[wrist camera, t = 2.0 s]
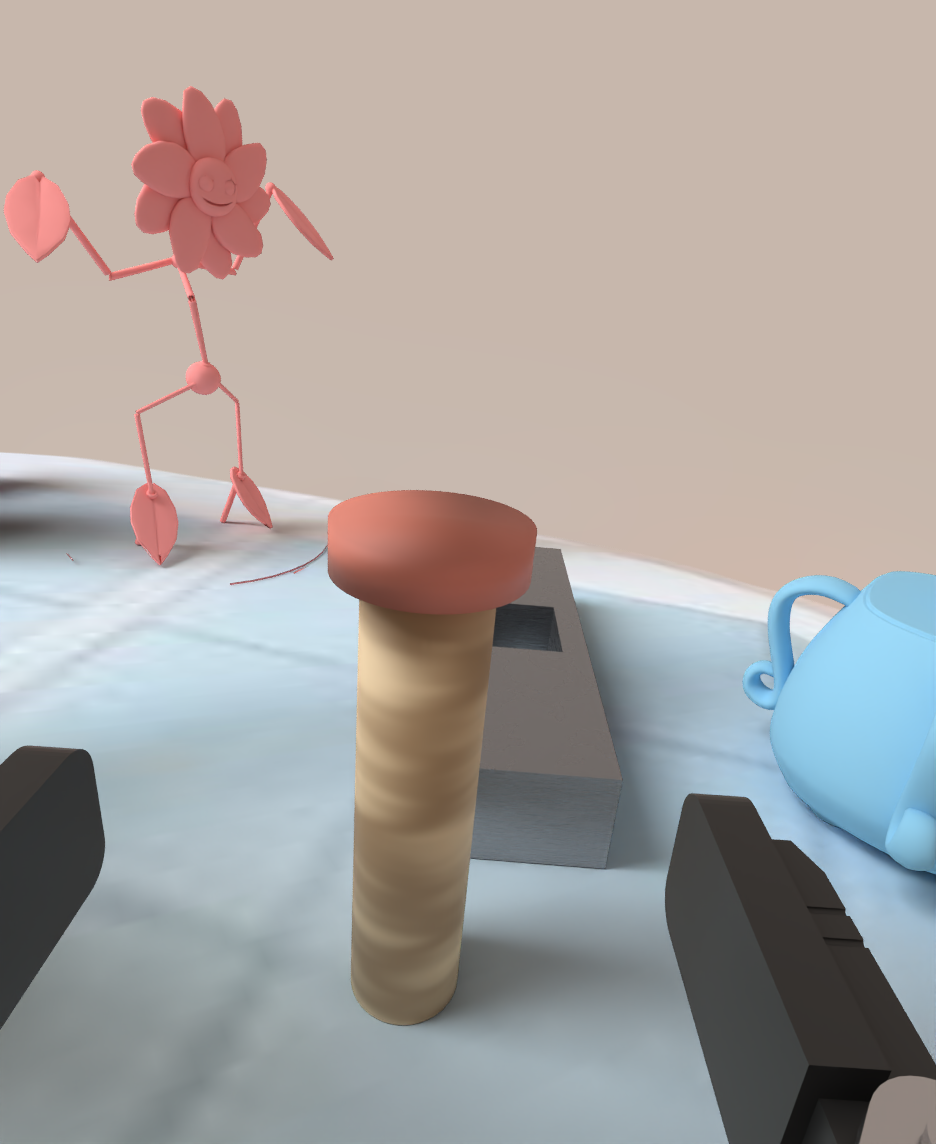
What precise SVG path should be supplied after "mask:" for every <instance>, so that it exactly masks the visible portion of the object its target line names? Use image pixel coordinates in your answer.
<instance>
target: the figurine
mask: <svg viewBox="0 0 936 1144" xmlns="http://www.w3.org/2000/svg"><path fill="white" fill-rule="evenodd" d="M141 113H142V117H143V121H144V125H145V127H146V129H147V131H148V134H149V136H150V139H151V140H152V142H153V143H151V144H148V145H145V146H144V147H143V148H142V149H141V150H140V151H139V152H138V153H137V154H136V155H135V157H134V159H133V161H132V164H131V165H132V168H133V172H134V175H135V176H136V177H137V178H138V179H140V180H141V181H142V182H143V183H144V186H143V188H142V190H141V192H140V194H139V196H138V198H137V203H136V208H135V220H136V225H137V226H138V228H140V229H141V231H143V233H149V234H156V233H161V232H165V231H167V230H169V235H170V240H171V245H172V250H173V254H174V255H173V256H172V257H171V258H168V259H164V260H159V261H155V262H151V263H147V264H143V265H139V266H135V267H131V268H127V269H123V270H119V271H115V272H112V273H111V271H110V270H109V268H108V267H107V265H106V264H105V263H104V261H103V260H102V258H101V257H100V256H99V254H98V253H97V252H96V250H95V249H94V248H93V246H92V245H91V243H90V242H89V241H88V239H87V238H86V236H85V235H84V234H83V232H82V231H81V230H80V228H79V227H78V226H77V224H76V223H75V221H74V220H73V219H72V217H71V216H70V211H69V204H68V202H67V201H66V199H65V197H64V195H63V193H62V192H61V190H60V188H59V186H58V185H56V184H55V183H53V182H51V181H50V180H48V179H47V178H45V176H44V174H43V173H42V172H40V171H37V170H36V171H33V172H32V173H31V175H30V176H27V177H24V178H21V179H18V180H17V182H16V183H15V184H14V186H13V187H12V188H11V190H10V191H9V193H8V194H7V195H6V200H5V206H4V213H5V217H6V221H7V224H8V227H9V231H10V233H11V235H12V236H13V237H14V238H15V240H16V241H17V242H18V243H19V245H20V246H21V247H22V248H23V250H24V251H25V252H26V253H27V254H28V255H29V256H30V257H31V258H32V259H34V261H35V262H37V263H38V262H39V261H41V260H42V259H44V258H45V257H47V256H48V255H49V254H50V253H52V252H53V251H54V250H55V249H56V248H57V247H58V246H59V245H60V244H61V243H62V242H63V241H64V240H65V238H66V235H67V232H68V230H69V227H70V229H71V230H72V231H73V233H74V234H75V235H76V237H77V238H78V240H79V241H80V242H81V244H82V245H83V246H84V248H85V249H86V250H87V252H88V253H89V254H90V256H91V257H92V258H93V260H94V261H95V263H96V264H97V265H98V266H99V268H100V269H101V271H102V272H103V273H104V275H109V281H111V280H115V279H119V278H123V277H126V276H130V275H134V274H138V273H142V272H146V271H149V270H153V269H157V268H160V267H163V266H167V265H171V264H172V265H173V266H174V267H176V268H178V270H179V273H180V276H181V279H182V282H183V285H184V288H185V291H186V294H187V297H188V299H189V301H188V302H189V305H190V310H191V314H192V318H193V323H194V326H195V331H196V335H197V339H198V344H199V348H200V352H201V356H202V360H203V361H202V362H196V363H193V364H192V365H191V366H190V367H189V368H188V370H187V372H186V381H187V384H188V385H187V386H185V387H183V388H181V389H179V390H177V391H175V392H173V393H171V394H169V395H167V396H165V397H163V398H161V399H159V400H157V401H155V402H153V403H151V404H149V405H147V406H145V407H143V408H141V409H139V410H136V413H137V414H135V421H136V426H137V431H138V436H139V441H140V447H141V452H142V457H143V462H144V468H145V473H146V478H147V483H146V484H145V485H143V486H141V487H140V488H138V489H137V490H136V492H135V495H134V498H133V501H132V503H131V506H130V516H131V524H132V527H133V530H134V533H135V535H136V541H135V544H137V545H142V547H143V548H144V547H145V548H146V549H147V550H148V552H149V553H150V554H151V555H152V556H150V557H151V558H152V559H153V560H154V561H155V562H157V563H158V564H159V565H161V564H162V563H163V561H164V560H165V559H166V557H167V556H168V554H169V552H170V551H171V549H172V547H173V545H174V543H175V541H176V539H177V530H178V519H177V514H176V509H175V507H174V505H173V503H172V501H171V499H170V498H169V496H168V494H167V492H166V491H165V490H164V489H162V488H161V487H159V486H158V485H156V484H155V483H153V484H152V479H151V473H150V468H149V463H148V457H147V453H146V447H145V441H144V436H143V430H142V425H141V420H140V413H142V412H144V411H146V410H148V409H150V408H152V407H154V406H157V405H159V404H161V403H163V402H165V401H167V400H169V399H171V398H173V397H175V396H177V395H179V394H181V393H183V392H185V391H187V390H189V389H192V390H193V391H194V392H196V393H198V394H202V395H207V394H211V393H213V392H214V391H215V390H216V389H217V388H218V387H219V388H221V389H222V390H223V391H224V392H225V393H226V394H227V395H228V396H229V397H230V398H231V399H233V401H234V402H235V410H236V426H237V442H238V459H239V468H237V467H233V468H232V469H230V479H231V480H232V483H233V486H232V488H231V491H230V494H229V497H228V500H227V502H226V505H225V508H224V511H223V513H222V516H221V519H220V521H221V522H222V523H225V522H226V519H227V517H228V514H229V511H230V509H231V506H232V503H233V500H234V498H235V495H236V493H237V495H238V496H239V498H240V500H241V501H242V503H243V505H244V506H245V507H246V508H247V510H248V511H249V512H250V513H251V514H252V515H253V516H254V517H255V518H256V519H258V520H259V521H260V522H261V523H263V524H264V525H265V526H267V527H268V528H272V527H273V526H272V523H271V519H270V516H269V513H268V510H267V507H266V504H265V501H264V499H263V497H262V495H261V493H260V491H259V490H258V488H257V487H256V485H255V484H254V482H253V481H252V480H251V479H250V478H249V477H248V476H247V475H246V474H245V473H244V472H243V464H242V444H241V428H240V427H241V426H240V407H239V403H238V400H237V399H236V397H234V396H233V395H232V394H231V393H230V392H229V391H228V390H227V389H226V388H225V387H224V386H223V385H222V384H221V383H220V382H221V377H220V374H219V372H218V370H217V369H216V368H215V367H214V366H213V365H211V364H210V363H209V362H208V360H207V355H206V350H205V345H204V339H203V334H202V329H201V324H200V319H199V313H198V308H197V303H196V300H195V296H194V293H193V291H192V288H191V286H190V283H189V280H188V278H187V275H186V273H191V272H192V271H194V270H196V269H198V268H201V269H206V270H208V271H209V272H210V273H211V274H212V275H213V276H215V277H216V278H219V279H224V278H225V277H226V276H227V275H228V274H230V275H236V271H235V270H234V269H237V270H238V269H239V266H240V264H241V262H242V260H243V257H257V256H258V255H260V254H261V253H262V248H263V242H262V237H261V234H260V232H259V231H258V230H257V226H258V224H259V222H260V220H261V219H262V218H263V217H264V216H265V214H266V213H267V212H268V210H269V207H270V204H271V203H270V198H271V195H272V194H273V195H274V197H275V199H276V201H277V202H278V203H279V205H280V206H281V208H282V209H283V211H284V212H285V214H286V215H287V216H288V218H289V219H290V220H291V221H292V223H293V224H294V225H295V226H296V227H297V229H298V230H299V231H300V232H301V233H302V234H303V235H304V236H305V237H306V239H307V240H308V241H309V242H310V243H311V244H312V245H313V246H314V247H316V248H317V249H318V250H319V251H320V252H321V253H322V254H324V255H325V256H326V257H327V258H329V259H330V260H332V259H333V256H332V255H331V253H330V251H329V249H328V248H327V246H326V245H325V243H324V241H323V240H322V238H321V237H320V235H319V234H318V232H317V231H316V230H315V228H314V227H313V226H312V224H311V223H310V222H309V220H308V219H307V218H306V216H305V215H304V214H303V213H302V212H301V211H300V209H299V208H298V207H297V206H296V205H295V204H294V203H293V202H292V201H291V200H290V199H289V198H288V197H287V196H286V195H285V194H284V193H283V192H282V191H281V190H280V189H278V188H277V187H276V186H275V185H274V184H273V183H267V184H266V192H265V191H264V190H263V189H262V188H261V187H259V186H260V184H261V181H262V179H263V177H264V174H265V169H266V161H267V159H266V151H265V149H264V148H263V147H262V145H261V144H260V143H252V144H247V145H243V146H242V130H241V123H240V119H239V116H238V112H237V109H236V108H235V106H234V104H233V102H232V101H231V100H227V99H223V100H222V101H221V102H220V103H218V105H217V106H216V107H215V109H214V108H213V107H212V104H211V103H210V102H209V100H208V99H207V98H206V97H205V96H204V94H203V93H202V92H201V91H199V90H197V89H195V88H193V87H192V86H190V87H188V88H187V89H185V90H184V92H183V110H182V112H181V111H180V110H179V109H177V108H176V107H174V106H173V105H171V104H170V103H168V102H167V101H165V100H161V99H157V98H154V97H151V98H149V99H146V100H144V101H143V103H142V107H141ZM231 253H233V254H235V255H237V258H236V260H235V262H234V264H233V268H231V266H232V260H231ZM327 533H328V532H327ZM327 546H328V544H327ZM327 546H326V547H327ZM326 547H325V549H326ZM145 548H144V549H145ZM146 549H145V550H146ZM325 549H324V550H325ZM324 550H323V552H324ZM146 552H147V551H146ZM148 552H147V553H148ZM323 552H321V553H320V554H319V555H318V556H317V557H319V556H320V555H321V554H322V553H323ZM149 553H148V554H149ZM67 555H68V554H67ZM160 555H161V556H160ZM68 556H69V555H68ZM69 557H70V556H69ZM317 557H316V558H317ZM70 558H71V557H70ZM316 558H314V559H313V560H315V559H316ZM71 560H72V561H73V559H72V558H71ZM313 560H311V561H309V562H307V563H306V564H304V565H302V566H299V567H297V568H294V569H292V570H290V571H286V572H283V573H280V574H277V575H273V576H269V577H264V578H260V579H255V580H250V581H243V582H236V583H230V585H234V584H241V583H247V582H254V581H258V580H263V579H267V578H272V577H275V576H278V575H282V574H285V573H288V572H291V571H293V570H296V569H298V568H300V567H303V566H305V565H307V564H308V563H310V562H312V561H313ZM307 567H308V566H307ZM305 568H306V567H305ZM303 569H304V568H303ZM300 570H302V569H300ZM300 570H298V571H300ZM298 571H296V572H298ZM296 572H294V573H296Z"/></svg>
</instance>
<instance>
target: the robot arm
mask: <svg viewBox="0 0 936 1144" xmlns="http://www.w3.org/2000/svg"><path fill="white" fill-rule="evenodd" d="M104 852H105V837H104V830H103V824H102V818H101V811H100V805H99V798H98V792H97V786H96V779H95V773H94V766H93V762H92V758H91V756H90V755H89V753H88V752H87V751H86V750H83V749H71V748H57V747H42V746H23V747H20V748H19V749H17V750H16V751H15V752H13V753H12V754H11V755H10V756H9V757H8V758H7V759H6V760H5V761H4V762H3V763H2V764H1V765H0V1029H1V1028H2V1026H3V1025H4V1023H5V1022H6V1020H7V1019H8V1017H9V1016H10V1014H11V1012H12V1011H13V1009H14V1008H15V1006H16V1005H17V1003H18V1002H19V1000H20V999H21V997H22V996H23V994H24V993H25V991H26V990H27V988H28V987H29V985H30V984H31V982H32V980H33V979H34V977H35V976H36V974H37V973H38V971H39V970H40V968H41V967H42V965H43V964H44V962H45V961H46V959H47V958H48V956H49V955H50V953H51V952H52V950H53V949H54V947H55V945H56V944H57V942H58V941H59V939H60V938H61V936H62V935H63V933H64V932H65V930H66V929H67V927H68V926H69V924H70V923H71V921H72V920H73V918H74V917H75V915H76V913H77V912H78V910H79V909H80V907H81V906H82V904H83V903H84V901H85V900H86V898H87V897H88V895H89V894H90V892H91V890H92V889H93V887H94V885H95V883H96V881H97V879H98V876H99V873H100V870H101V867H102V863H103V858H104ZM665 910H666V919H667V925H668V930H669V934H670V938H671V941H672V945H673V948H674V952H675V955H676V959H677V962H678V966H679V969H680V973H681V976H682V980H683V983H684V987H685V990H686V994H687V997H688V1001H689V1005H690V1008H691V1012H692V1015H693V1019H694V1022H695V1026H696V1029H697V1033H698V1036H699V1040H700V1043H701V1047H702V1050H703V1054H704V1057H705V1061H706V1064H707V1068H708V1071H709V1075H710V1078H711V1082H712V1085H713V1089H714V1092H715V1096H716V1100H717V1103H718V1107H719V1110H720V1114H721V1117H722V1121H723V1124H724V1128H725V1131H726V1135H727V1138H728V1142H729V1144H936V1064H935V1062H934V1061H933V1059H932V1057H931V1055H930V1054H929V1052H928V1050H927V1048H926V1047H925V1045H924V1043H923V1042H922V1040H921V1038H920V1036H919V1035H918V1033H917V1031H916V1029H915V1028H914V1026H913V1024H912V1023H911V1021H910V1019H909V1017H908V1016H907V1014H906V1012H905V1011H904V1009H903V1007H902V1005H901V1004H900V1002H899V1000H898V998H897V997H896V995H895V993H894V992H893V990H892V988H891V986H890V985H889V983H888V981H887V979H886V978H885V976H884V974H883V973H882V971H881V969H880V967H879V966H878V964H877V962H876V961H875V959H874V957H873V955H872V954H871V952H870V950H869V948H865V947H864V944H863V938H862V936H861V935H860V933H859V931H858V929H857V928H856V926H855V924H854V923H853V921H852V919H851V917H850V916H846V913H845V907H844V905H843V904H842V902H841V900H840V898H839V897H838V895H837V893H836V892H835V890H834V888H833V886H832V885H831V883H830V881H829V879H828V878H827V876H826V874H825V873H824V872H823V871H822V870H821V869H820V868H819V867H818V866H817V865H816V864H815V863H814V862H813V861H812V860H811V859H810V858H809V857H807V856H806V855H805V854H804V853H803V852H802V851H801V850H800V849H799V848H798V847H797V846H796V845H795V844H794V843H793V842H791V841H788V840H774V839H771V837H770V835H769V833H768V831H767V829H766V827H765V826H764V824H763V822H762V820H761V818H760V816H759V814H758V812H757V810H756V808H755V806H754V805H753V803H752V802H751V801H750V799H748V798H746V797H736V796H722V795H707V794H693V793H691V794H689V795H688V796H687V797H686V799H685V801H684V804H683V807H682V812H681V816H680V821H679V825H678V830H677V834H676V839H675V844H674V848H673V853H672V857H671V862H670V866H669V871H668V875H667V880H666V888H665Z"/></svg>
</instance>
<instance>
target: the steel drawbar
mask: <svg viewBox="0 0 936 1144" xmlns="http://www.w3.org/2000/svg"><path fill="white" fill-rule="evenodd" d="M622 781H623V779H622V775H621V772H620V768H619V764H618V760H617V757H616V753H615V749H614V746H613V742H612V738H611V734H610V731H609V727H608V723H607V720H606V716H605V712H604V708H603V705H602V701H601V697H600V694H599V690H598V686H597V683H596V679H595V675H594V671H593V668H592V664H591V660H590V657H589V653H588V649H587V645H586V642H585V638H584V634H583V631H582V627H581V623H580V619H579V616H578V612H577V608H576V605H575V601H574V597H573V594H572V590H571V586H570V582H569V579H568V575H567V571H566V568H565V564H564V560H563V556H562V553H561V549H553V548H541V547H535V552H534V560H533V569H532V577H531V584H530V586H529V589H528V590H527V591H526V593H525V594H523V595H522V596H521V597H520V598H518V599H517V600H515V601H513V602H511V603H509V604H506V605H504V606H501V607H498V608H496V615H495V625H494V634H493V644H492V653H491V663H490V673H489V682H488V692H487V701H486V711H485V720H484V730H483V739H482V749H481V758H480V768H479V777H478V787H477V797H476V806H475V816H474V825H473V835H472V844H471V854H470V858H476V859H489V860H501V861H514V862H526V863H539V864H551V865H564V866H576V867H589V868H601V869H605V866H606V861H607V856H608V851H609V846H610V841H611V836H612V831H613V826H614V821H615V816H616V811H617V806H618V801H619V796H620V791H621V786H622Z"/></svg>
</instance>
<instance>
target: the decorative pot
mask: <svg viewBox="0 0 936 1144" xmlns="http://www.w3.org/2000/svg"><path fill="white" fill-rule="evenodd" d="M803 595H820V596H825V597H828V598H830V599H833V600H835V601H837V602H840V603H842V604H844V605H845V606H844V607H843V608H842V609H841V610H840V611H839V612H838V613H837V614H836V615H835V616H834V617H833V618H832V619H831V620H830V621H829V622H828V623H827V624H826V625H825V626H824V627H823V628H822V630H821V631H820V632H819V633H818V634H817V635H816V636H815V637H814V638H813V640H812V641H811V642H810V643H809V645H808V646H807V647H806V649H805V650H804V652H803V653H802V654H801V656H800V657H799V659H798V661H797V662H796V664H795V666H794V660H793V653H792V646H791V638H790V612H791V607H792V604H793V602H794V600H795V599H796V598H797V597H799V596H803ZM768 637H769V646H770V653H771V660H772V662H770V661H766V660H762V661H758V662H755V663H753V664H752V665H751V666H750V667H748V668H747V670H746V672H745V674H744V676H743V689H744V691H745V694H746V695H747V696H748V698H749V699H751V700H752V701H753V702H754V703H755V704H756V705H758V706H760V707H762V708H764V709H768V710H774V713H773V716H772V719H771V725H770V741H771V745H772V749H773V752H774V755H775V758H776V760H777V763H778V765H779V768H780V769H781V771H782V773H783V775H784V778H785V779H786V781H787V783H788V785H789V786H790V787H791V789H792V790H793V791H794V792H795V794H796V795H797V796H799V797H800V798H801V799H802V800H803V801H804V802H805V803H806V804H807V805H809V806H810V808H811V810H812V811H813V812H814V813H815V814H816V816H818V817H819V818H820V819H822V820H823V821H825V822H826V823H828V824H830V825H833V826H835V827H839V828H842V829H844V830H845V831H847V832H849V833H850V834H852V835H854V836H855V837H857V838H859V839H860V840H862V841H864V842H866V843H868V844H870V845H871V846H873V847H875V848H877V849H879V850H881V851H883V852H885V853H887V854H889V855H890V856H891V857H892V858H893V859H894V860H895V861H896V862H898V863H899V864H901V865H902V866H904V867H905V868H907V869H911V870H916V871H927V872H930V873H932V874H935V875H936V575H931V574H924V573H916V572H905V571H896V572H890V573H887V574H884V575H881V576H879V577H877V578H876V579H874V580H873V581H872V582H871V583H870V584H868V585H867V586H866V587H865V588H864V589H862V590H861V591H860V590H859V589H858V588H857V587H855V586H853V585H852V584H850V583H848V582H846V581H844V580H841V579H839V578H836V577H831V576H822V575H814V576H806V577H802V578H799V579H796V580H793V581H791V582H789V583H788V584H786V585H785V586H783V587H782V588H781V589H780V590H779V591H778V592H777V593H776V594H775V596H774V598H773V599H772V602H771V604H770V608H769V613H768ZM761 674H768V675H770V676H772V677H774V689H773V690H772V689H770V688H768V687H767V686H765V685H764V684H763V682H762V681H761V679H760V675H761Z"/></svg>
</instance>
